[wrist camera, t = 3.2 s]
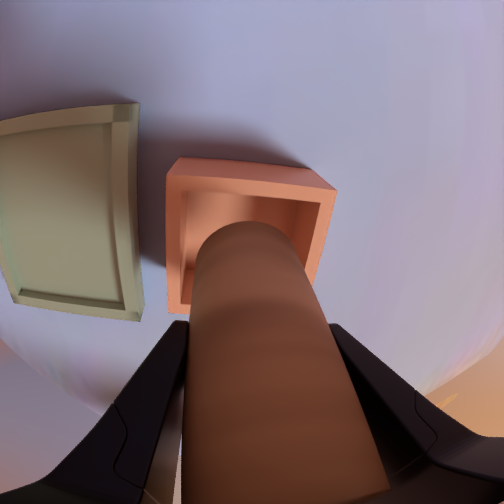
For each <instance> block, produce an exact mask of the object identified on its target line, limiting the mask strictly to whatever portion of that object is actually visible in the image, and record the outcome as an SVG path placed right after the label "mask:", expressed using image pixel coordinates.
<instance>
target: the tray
mask: <svg viewBox="0 0 504 504" xmlns="http://www.w3.org/2000/svg"><path fill="white" fill-rule="evenodd" d="M139 108H140V103H132V104H111V105H97V106H86V107H76V108H68V109H60V110H53V111H47V112H40V113H35V114H29V115H24V116H19V117H14V118H10V119H5V120H1V121H0V265H1V268H2V271H3V274H4V277H5V280H6V283H7V286H8V289H9V292H10V294H11V297H12V299H13V302H14V303H17V304H22V305H27V306H32V307H37V308H43V309H48V310H54V311H60V312H67V313H73V314H80V315H87V316H94V317H102V318H110V319H119V320H128V321H138V322H140V320H141V316H142V313H143V309H144V306H145V303H144V294H143V285H142V275H141V264H140V251H139V235H138V212H137V145H138V123H139Z"/></svg>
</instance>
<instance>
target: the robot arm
mask: <svg viewBox="0 0 504 504" xmlns="http://www.w3.org/2000/svg"><path fill="white" fill-rule="evenodd" d="M328 325H329V328H330V330H331V332H332V335H333V337H334V340H335V342H336V344H337V347H338V349H339V352H340V354H341V356H342V359H343V361H344V364H345V366H346V369H347V371H348V374H349V376H350V379H351V381H352V384H353V386H354V389H355V392H356V394H357V397H358V399H359V402H360V404H361V407H362V410H363V412H364V415H365V418H366V420H367V423H368V426H369V428H370V431H371V434H372V437H373V439H374V442H375V445H376V448H377V450H378V453H379V456H380V459H381V462H382V465H383V468H384V470H385V473H386V476H387V479H388V482H389V485H390V488H391V490H390V491H389V492H388V493H386V494H385V495H383V496H381V497H379V498H377V499H375V500H373V501H370V502H368V503H366V504H504V437H485V436H481V435H478V434H476V433H474V432H472V431H471V430H469V429H468V428H466V427H465V426H463V425H462V424H460V423H459V422H457V421H456V420H455V419H453V418H452V417H450V416H449V415H447V414H446V413H445V412H443V411H442V410H440V409H439V408H438V407H436V406H435V405H434V404H432V403H431V402H430V401H429V400H428V399H426V398H425V397H424V396H423V395H421V394H420V393H419V392H418V391H417V390H415V389H414V388H413V387H412V386H411V385H410V384H408V383H407V382H406V381H405V380H404V379H402V378H401V377H400V376H399V375H398V374H397V373H395V372H394V371H393V370H392V369H391V368H389V367H388V366H387V365H386V364H385V363H384V362H382V361H381V360H380V359H379V358H378V357H376V356H375V355H374V354H373V353H372V352H371V351H369V350H368V349H367V348H366V347H365V346H363V345H362V344H361V343H360V342H359V341H358V340H356V339H355V338H354V337H353V336H352V335H350V334H349V333H348V332H347V331H346V330H344V329H343V328H342V327H341V326H340V325H338V324H336V323H332V324H328ZM188 331H189V322H188V321H180V320H175V321H174V322H173V323H172V324H171V326H170V327H169V328H168V330H167V331H166V332H165V333H164V335H163V336H162V337H161V339H160V340H159V341H158V343H157V344H156V345H155V347H154V348H153V349H152V351H151V352H150V353H149V355H148V356H147V357H146V359H145V360H144V361H143V363H142V364H141V365H140V367H139V368H138V369H137V371H136V372H135V373H134V375H133V376H132V377H131V379H130V380H129V381H128V383H127V384H126V385H125V387H124V388H123V389H122V391H121V392H120V393H119V395H118V396H117V397H116V399H115V400H114V404H115V405H114V404H111V405H110V407H109V408H108V409H107V411H106V412H105V414H104V415H103V416H102V417H101V419H100V420H99V421H98V423H97V424H96V425H95V426H94V428H93V429H92V430H91V431H90V432H89V433H88V434H87V435H86V436H85V437H84V439H83V440H82V441H81V442H80V443H79V444H78V445H77V446H76V447H75V448H74V449H73V450H72V451H71V452H70V453H69V454H68V455H67V457H65V458H64V459H63V461H61V463H60V464H59V465H58V466H57V467H56V468H55V469H54V470H53V471H52V472H50V473H49V474H48V475H47V476H45V477H44V478H42V479H40V480H38V481H36V482H34V483H31V484H28V485H25V486H23V487H20V488H17V489H14V490H11V491H7V492H4V493H1V494H0V504H172V503H173V494H174V485H175V478H176V469H177V462H178V455H179V447H180V440H181V433H182V418H183V397H184V380H185V366H186V356H187V343H188Z"/></svg>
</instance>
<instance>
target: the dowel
mask: <svg viewBox="0 0 504 504" xmlns="http://www.w3.org/2000/svg"><path fill="white" fill-rule="evenodd" d="M390 490H391V488H390V485H389V482H388V479H387V476H386V473H385V470H384V468H383V465H382V462H381V459H380V456H379V453H378V450H377V448H376V445H375V442H374V439H373V437H372V434H371V431H370V428H369V426H368V423H367V420H366V418H365V415H364V412H363V410H362V407H361V404H360V402H359V399H358V397H357V394H356V392H355V389H354V386H353V384H352V381H351V379H350V376H349V374H348V371H347V369H346V366H345V364H344V361H343V359H342V356H341V354H340V352H339V349H338V347H337V344H336V342H335V340H334V337H333V335H332V332H331V330H330V328H329V325H328V323H327V321H326V318H325V316H324V314H323V311H322V309H321V307H320V304H319V302H318V300H317V297H316V295H315V293H314V291H313V288H312V286H311V284H310V282H309V279H308V277H307V275H306V273H305V270H304V268H303V266H302V264H301V262H300V259H299V257H298V255H297V253H296V251H295V248H294V246H293V244H292V243H291V241H290V240H289V238H288V237H287V236H286V235H285V234H284V233H283V232H281V231H280V230H279V229H277V228H275V227H274V226H271V225H269V224H266V223H262V222H257V221H240V222H235V223H231V224H228V225H226V226H223V227H222V228H220V229H218V230H216V231H215V232H213V233H212V234H211V235H210V236H209V237H208V238H207V239H206V240H205V241H204V242H203V244H202V246H201V247H200V249H199V251H198V254H197V257H196V263H195V271H194V280H193V289H192V298H191V308H190V318H189V331H188V343H187V356H186V366H185V380H184V397H183V418H182V450H181V504H366V503H368V502H370V501H373V500H375V499H377V498H379V497H381V496H383V495H385V494H386V493H388V492H389V491H390Z"/></svg>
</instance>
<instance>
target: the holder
mask: <svg viewBox="0 0 504 504" xmlns="http://www.w3.org/2000/svg"><path fill="white" fill-rule="evenodd" d="M336 194H337V190H336V189H335V188H334V187H332V186H331V185H330V184H329V183H328V182H327V181H325V180H324V179H323V178H322V177H321V176H319V175H318V174H317V173H316V172H315V171H313V170H311V169H304V168H297V167H289V166H282V165H274V164H265V163H256V162H246V161H236V160H224V159H211V158H195V157H179V158H178V159H177V160H176V162H175V163H174V165H173V166H172V167H171V169H170V170H169V172H168V173H167V174H166V272H167V294H168V311H169V313H180V314H190V308H191V298H192V289H193V280H194V271H195V263H196V257H197V254H198V251H199V249H200V247H201V246H202V244H203V242H204V241H205V240H206V239H207V238H208V237H209V236H210V235H211V234H212V233H213V232H215V231H216V230H218V229H220V228H222V227H223V226H226V225H228V224H231V223H235V222H240V221H257V222H262V223H266V224H269V225H271V226H274V227H275V228H277V229H279V230H280V231H281V232H283V233H284V234H285V235H286V236H287V237H288V238H289V240H290V241H291V243H292V244H293V246H294V248H295V251H296V253H297V255H298V257H299V259H300V262H301V264H302V266H303V268H304V270H305V273H306V275H307V277H308V279H309V282H310V284H311V286H313V282H314V279H315V275H316V272H317V268H318V265H319V261H320V257H321V254H322V250H323V246H324V243H325V239H326V235H327V231H328V227H329V223H330V219H331V215H332V211H333V207H334V203H335V199H336Z"/></svg>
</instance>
